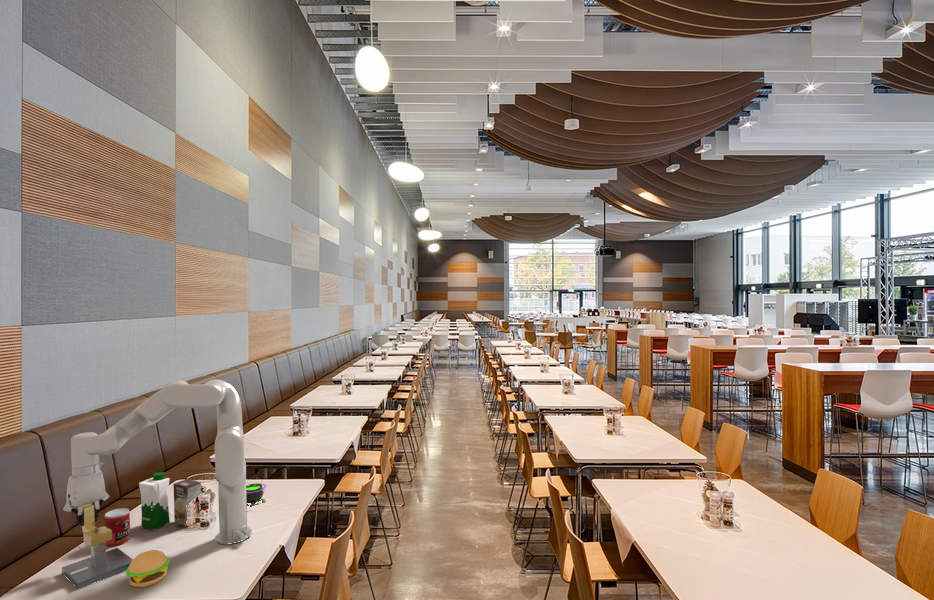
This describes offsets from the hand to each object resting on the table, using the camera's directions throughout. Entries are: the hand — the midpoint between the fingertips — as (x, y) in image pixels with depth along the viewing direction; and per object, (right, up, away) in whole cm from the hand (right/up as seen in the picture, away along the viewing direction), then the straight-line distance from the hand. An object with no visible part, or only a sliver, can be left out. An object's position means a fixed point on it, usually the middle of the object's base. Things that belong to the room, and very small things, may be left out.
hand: (87, 522), depth 175 cm
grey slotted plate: (+7, -14, -4) cm, 16 cm away
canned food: (0, -14, +16) cm, 21 cm away
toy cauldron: (+37, -13, +48) cm, 62 cm away
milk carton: (+6, -14, +29) cm, 32 cm away
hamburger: (+27, -14, -10) cm, 33 cm away
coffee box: (+18, -14, +31) cm, 38 cm away
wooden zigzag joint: (+4, -4, -3) cm, 6 cm away
